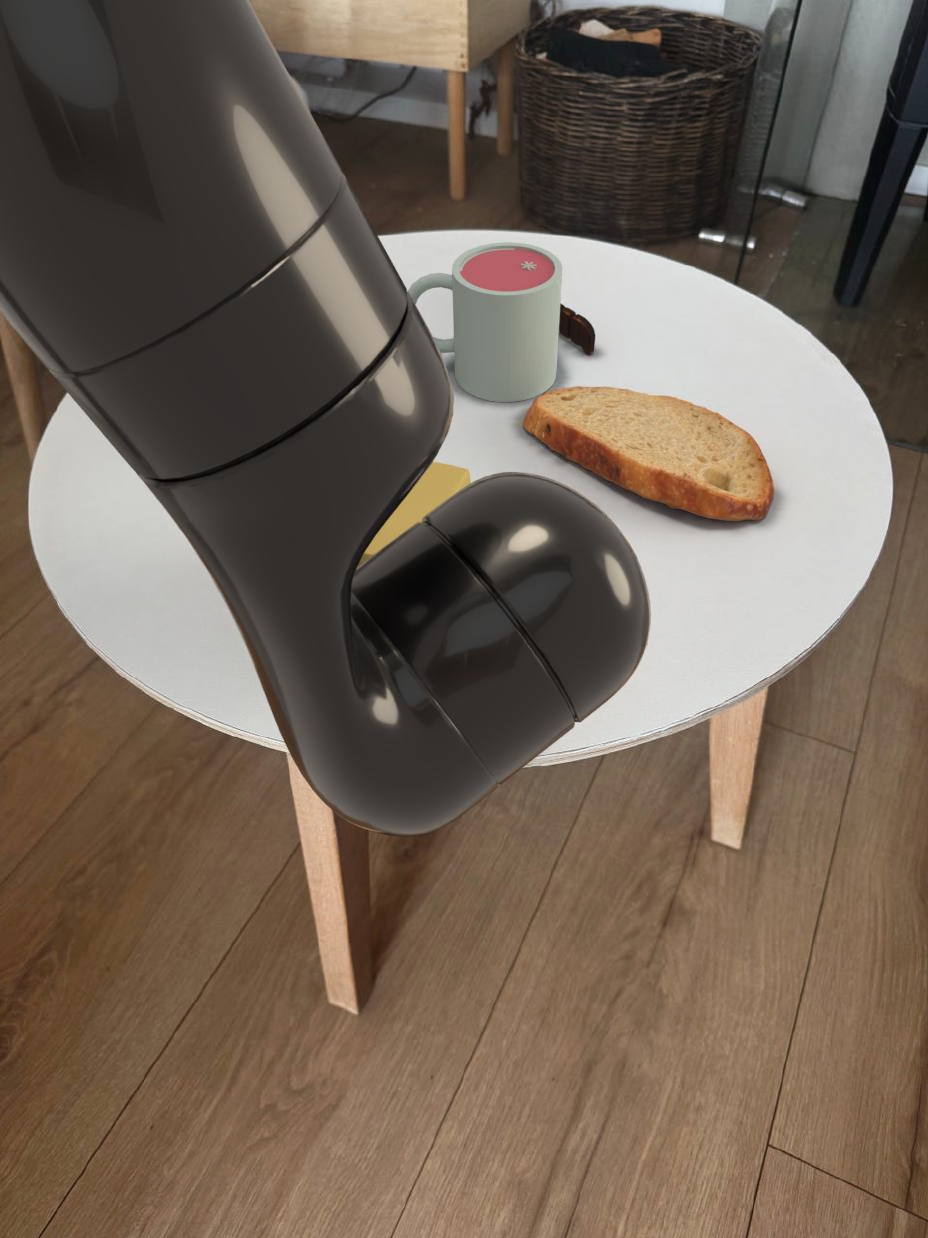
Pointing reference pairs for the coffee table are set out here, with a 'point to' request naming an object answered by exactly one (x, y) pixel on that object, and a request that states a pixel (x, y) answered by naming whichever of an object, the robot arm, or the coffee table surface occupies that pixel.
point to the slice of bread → (657, 449)
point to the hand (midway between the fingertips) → (398, 633)
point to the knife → (576, 329)
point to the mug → (502, 319)
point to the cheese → (420, 502)
